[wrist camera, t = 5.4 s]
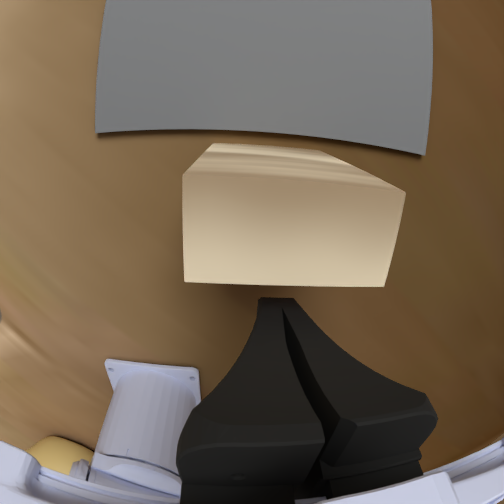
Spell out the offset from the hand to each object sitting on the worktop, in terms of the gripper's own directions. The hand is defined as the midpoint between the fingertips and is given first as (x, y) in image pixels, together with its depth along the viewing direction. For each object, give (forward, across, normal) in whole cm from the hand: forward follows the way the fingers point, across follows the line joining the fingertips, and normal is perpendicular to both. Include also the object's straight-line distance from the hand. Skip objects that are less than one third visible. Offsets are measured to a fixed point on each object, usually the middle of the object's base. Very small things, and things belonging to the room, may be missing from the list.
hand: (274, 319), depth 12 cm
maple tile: (+8, 0, -4) cm, 9 cm away
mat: (+8, 0, -14) cm, 17 cm away
